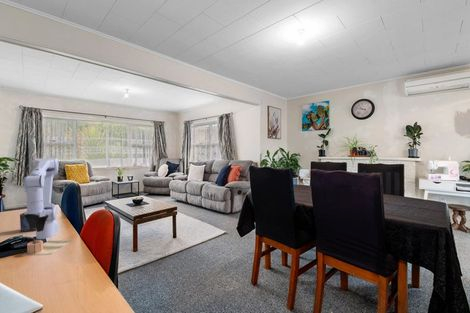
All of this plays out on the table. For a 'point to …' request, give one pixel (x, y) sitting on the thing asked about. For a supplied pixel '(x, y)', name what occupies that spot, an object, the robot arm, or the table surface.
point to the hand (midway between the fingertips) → (36, 229)
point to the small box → (25, 224)
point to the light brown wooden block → (34, 247)
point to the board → (49, 247)
